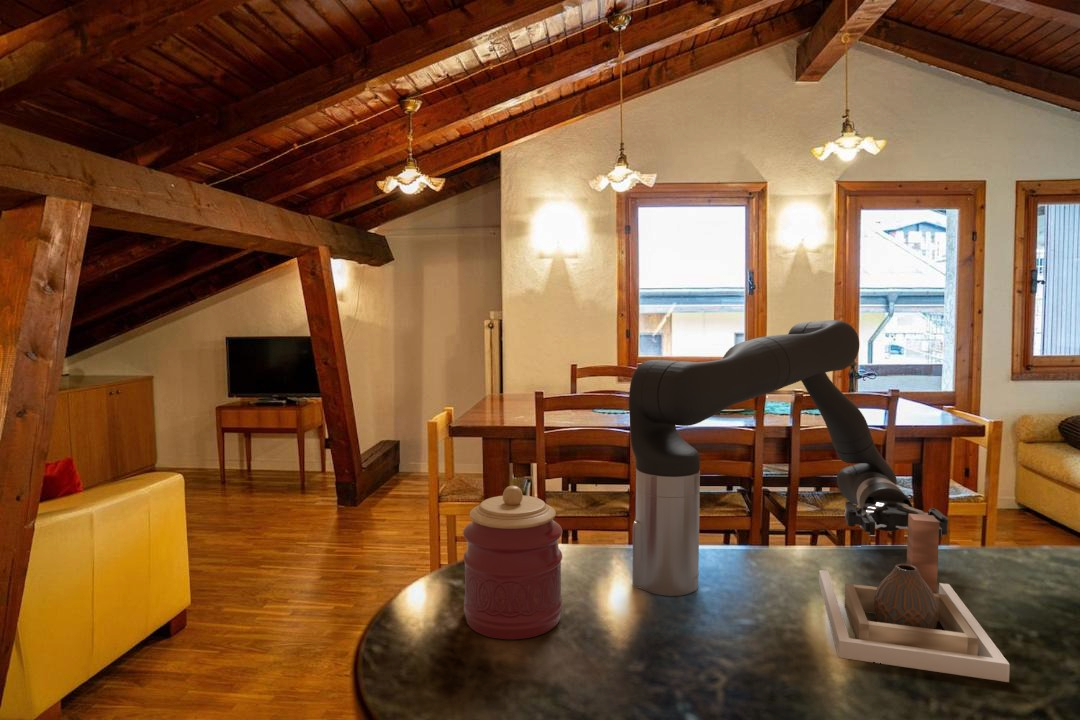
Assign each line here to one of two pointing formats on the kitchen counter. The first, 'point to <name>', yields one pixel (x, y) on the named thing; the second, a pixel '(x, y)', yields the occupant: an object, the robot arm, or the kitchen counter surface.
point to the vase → (905, 599)
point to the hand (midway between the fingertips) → (904, 531)
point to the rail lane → (981, 666)
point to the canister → (512, 567)
